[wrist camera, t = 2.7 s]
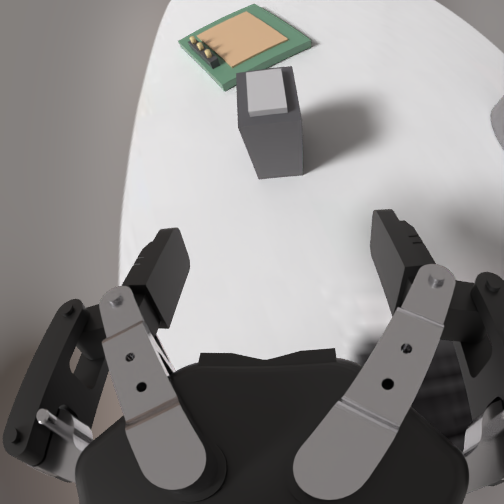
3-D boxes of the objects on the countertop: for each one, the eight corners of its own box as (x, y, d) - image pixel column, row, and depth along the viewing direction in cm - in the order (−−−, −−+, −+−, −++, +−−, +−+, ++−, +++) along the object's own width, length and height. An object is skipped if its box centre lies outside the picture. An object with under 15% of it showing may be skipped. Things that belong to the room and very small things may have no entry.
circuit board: (255, 9, 30) (251, -8, 26) (311, 47, 27) (310, 26, 24) (181, 47, 31) (172, 30, 27) (224, 91, 28) (216, 72, 25)
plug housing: (296, 128, 26) (291, 60, 17) (302, 175, 25) (301, 115, 16) (255, 133, 27) (234, 67, 17) (258, 179, 26) (236, 122, 17)
